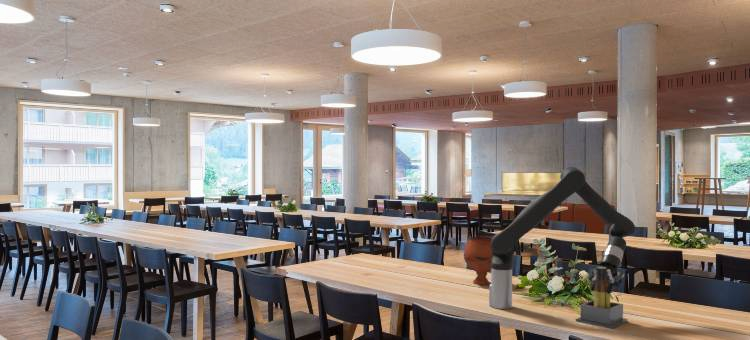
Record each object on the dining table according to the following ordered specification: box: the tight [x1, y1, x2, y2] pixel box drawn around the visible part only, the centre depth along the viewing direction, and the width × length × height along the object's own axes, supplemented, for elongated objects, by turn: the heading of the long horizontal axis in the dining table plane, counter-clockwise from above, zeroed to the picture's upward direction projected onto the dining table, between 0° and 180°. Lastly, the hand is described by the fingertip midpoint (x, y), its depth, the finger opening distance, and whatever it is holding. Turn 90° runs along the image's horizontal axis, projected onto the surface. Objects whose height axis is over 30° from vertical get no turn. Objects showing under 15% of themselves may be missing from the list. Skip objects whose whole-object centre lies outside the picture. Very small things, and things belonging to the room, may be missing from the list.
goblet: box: [463, 235, 494, 285], centre depth 302 cm, size 19×19×25 cm
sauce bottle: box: [593, 266, 611, 309], centre depth 226 cm, size 6×6×20 cm
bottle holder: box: [575, 298, 629, 329], centre depth 226 cm, size 15×15×7 cm
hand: (600, 291), depth 225 cm, fingers closed on sauce bottle, 6 cm apart
